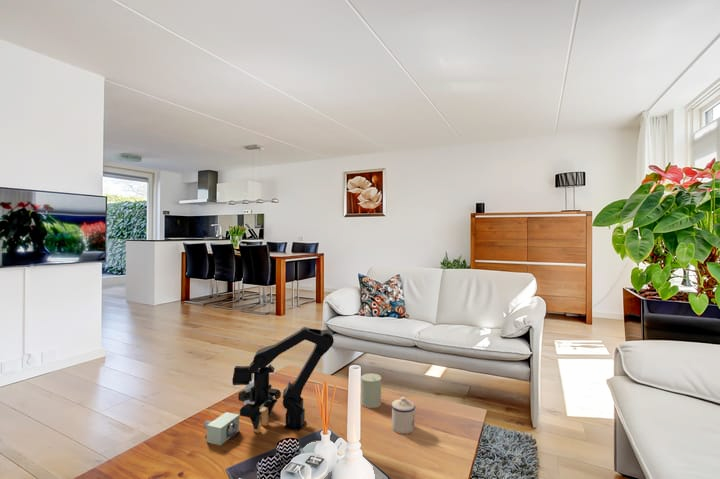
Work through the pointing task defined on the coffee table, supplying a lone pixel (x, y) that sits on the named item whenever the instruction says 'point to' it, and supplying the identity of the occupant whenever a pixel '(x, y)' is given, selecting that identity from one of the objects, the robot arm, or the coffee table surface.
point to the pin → (230, 428)
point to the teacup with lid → (403, 415)
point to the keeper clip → (264, 419)
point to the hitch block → (221, 428)
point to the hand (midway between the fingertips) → (261, 424)
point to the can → (371, 390)
